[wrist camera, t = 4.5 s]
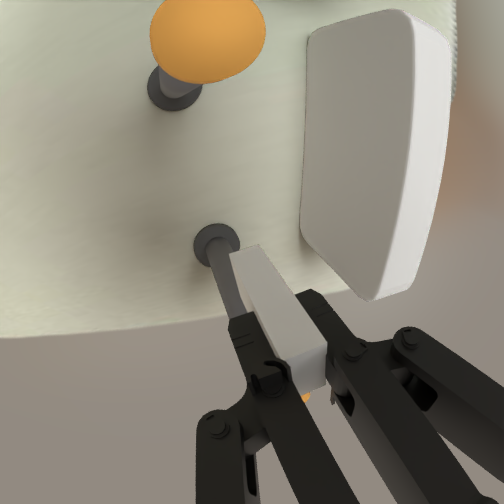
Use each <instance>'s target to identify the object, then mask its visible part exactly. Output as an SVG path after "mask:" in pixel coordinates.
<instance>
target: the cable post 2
mask: <svg viewBox="0 0 504 504" xmlns="http://www.w3.org/2000/svg"><path fill="white" fill-rule="evenodd" d="M239 249H240V241H239V238H238V236H237V234H236V233H235V231H234V230H233V229H232V228H231V227H229V226H227V225H224V224H211V225H209V226H206V227H205V228H203V229H202V230H201V231H200V232H199V233H198V234H197V236H196V238H195V240H194V251H195V255H196V257H197V259H198V260H199V261H200V262H201V263H202V264H203V265H205V266H208V267H211V268H212V271H213V274H214V277H215V280H216V283H217V286H218V289H219V291H220V294H221V297H222V300H223V303H224V306H225V308H226V311H227V314H228V317H229V319H231V318H234V317H237V316H240V315H243V314H245V313H248V312H247V310H246V308H245V306H244V303H243V301H242V299H241V297H240V293H239V289H238V286H237V282H236V279H235V275H234V271H233V268H232V264H231V260H230V257H229V254H230V253H233V252H236V251H239ZM309 397H310V392H309V393H306V394H304V395H302V396H301V398H302V400H303V401H304V403H305V402H306V401H307V400H308V399H309Z"/></svg>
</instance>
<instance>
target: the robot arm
mask: <svg viewBox="0 0 504 504" xmlns="http://www.w3.org/2000/svg"><path fill="white" fill-rule="evenodd" d="M229 257H230V260H231V264H232V268H233V271H234V275H235V279H236V282H237V286H238V289H239V293H240V297H241V299H242V301H243V303H244V306H245V308H246V310H247V312H248V313H245V314H243V315H240V316H237V317H234V318H231V319H230V320H229V326H228V331H229V334H230V337H231V340H232V342H233V345H234V348H235V351H236V353H237V356H238V359H239V361H240V364H241V367H242V370H243V372H244V375H245V377H246V381H247V389H246V392H245V394H244V396H243V397H242V399H240V400H239V401H238V402H237V403H236V404H234V405H233V406H231V407H230V408H229V409H227V410H213V411H210V412H208V413H207V414H205V415H203V417H202V418H201V419H200V420H199V422H198V425H197V430H196V431H197V432H196V504H260V495H259V484H258V473H257V462H256V452H257V451H259V450H260V449H261V448H263V447H264V446H265V445H267V444H268V443H269V442H272V444H273V447H274V449H275V452H276V454H277V456H278V458H279V461H280V463H281V465H282V467H283V470H284V472H285V474H286V476H287V478H288V481H289V483H290V485H291V487H292V489H293V492H294V494H295V496H296V498H297V500H298V502H299V504H360V503H359V502H358V500H357V498H356V496H355V495H354V493H353V491H352V489H351V488H350V486H349V484H348V482H347V480H346V479H345V477H344V475H343V473H342V471H341V470H340V468H339V466H338V464H337V463H336V461H335V459H334V457H333V455H332V453H331V452H330V450H329V448H328V446H327V444H326V442H325V441H324V439H323V437H322V435H321V433H320V431H319V430H318V428H317V426H316V424H315V422H314V420H313V419H312V416H311V415H310V413H309V411H308V409H307V407H306V405H305V403H304V401H303V400H302V398H301V396H302V395H304V394H306V393H309V392H311V391H313V390H315V389H318V388H320V387H322V386H324V385H325V384H326V379H327V381H328V382H329V384H330V385H331V387H332V389H331V399H330V400H331V403H332V405H333V404H335V401H336V403H337V404H338V406H339V408H340V409H341V411H342V413H343V415H344V416H345V418H346V420H347V421H348V423H349V424H350V426H351V428H352V429H353V431H354V433H355V434H356V436H357V438H358V439H359V441H360V443H361V444H362V446H363V448H364V449H365V451H366V453H367V454H368V456H369V458H370V459H371V461H372V463H373V464H374V466H375V467H376V469H377V471H378V472H379V474H380V476H381V477H382V479H383V481H384V482H385V484H386V486H387V487H388V489H389V490H390V492H391V494H392V495H393V497H394V499H395V500H396V502H397V504H498V503H497V501H495V500H494V499H492V498H489V497H486V496H483V495H482V494H480V493H479V491H478V490H477V488H476V487H475V485H474V484H473V482H472V481H471V480H470V478H469V477H468V475H467V474H466V472H465V471H464V469H463V468H462V466H461V465H460V463H459V462H458V461H457V459H456V458H455V456H454V455H453V454H452V452H451V451H450V449H449V448H448V447H447V445H446V444H445V443H444V441H443V440H442V438H441V437H440V435H439V434H441V435H442V436H443V437H444V438H446V439H447V440H448V441H449V442H451V443H452V444H453V445H454V446H456V447H457V448H458V449H460V450H461V451H462V452H463V453H465V454H466V455H467V456H469V457H470V458H471V459H472V460H474V461H475V462H476V463H477V464H479V465H480V466H482V467H483V468H484V469H485V470H487V471H488V472H489V473H491V474H492V475H493V476H494V477H496V478H497V479H498V480H500V481H501V482H503V483H504V387H502V386H501V385H499V384H498V383H497V382H495V381H494V380H492V379H491V378H490V377H488V376H487V375H486V374H484V373H483V372H481V371H480V370H478V369H477V368H476V367H474V366H473V365H471V364H470V363H468V362H467V361H466V360H464V359H463V358H461V357H460V356H459V355H457V354H456V353H454V352H453V351H451V350H450V349H448V348H447V347H445V346H444V345H443V344H441V343H439V342H438V341H437V340H435V339H434V338H432V337H431V336H429V335H428V334H426V333H425V332H423V331H422V330H420V329H418V328H415V327H404V328H401V329H400V330H398V331H397V332H396V334H395V335H394V337H393V339H389V340H384V341H379V342H366V341H365V340H363V339H360V338H357V337H355V336H354V335H353V334H352V332H351V331H350V330H349V329H348V327H347V326H346V325H345V324H344V322H343V321H342V320H341V318H340V317H339V316H338V315H337V313H336V312H335V311H333V308H332V307H331V306H330V305H329V304H328V302H327V301H326V300H325V299H324V297H323V296H322V295H321V294H320V293H318V292H316V291H314V290H312V289H309V290H306V291H303V292H301V293H298V294H295V295H294V294H293V292H292V291H291V289H290V288H289V287H288V285H287V284H286V282H285V281H284V279H283V278H282V277H281V275H280V274H279V272H278V271H277V269H276V268H275V266H274V265H273V264H272V262H271V261H270V259H269V258H268V257H267V255H266V254H265V252H264V251H263V249H262V248H261V247H260V245H259V244H257V245H254V246H251V247H248V248H245V249H242V250H239V251H236V252H233V253H230V254H229ZM437 432H438V433H439V434H438V433H437Z"/></svg>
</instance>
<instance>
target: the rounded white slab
mask: <svg viewBox="0 0 504 504" xmlns="http://www.w3.org/2000/svg"><path fill="white" fill-rule="evenodd" d="M450 100H451V50H450V46H449V43H448V40H447V38H446V37H445V36H444V35H443V34H442V33H441V32H440V31H439V30H438V29H436V28H434V27H433V26H431V25H429V24H428V23H426V22H424V21H422V20H421V19H419V18H417V17H415V16H413V15H411V14H409V13H407V12H405V11H403V10H398V9H387V10H383V11H378V12H374V13H370V14H365V15H362V16H358V17H354V18H350V19H347V20H343V21H340V22H337V23H334V24H330V25H327V26H324V27H321V28H319V29H317V30H315V31H314V32H313V33H312V34H311V36H310V38H309V40H308V46H307V82H306V117H305V141H304V160H303V177H302V192H301V206H300V229H301V233H302V236H303V238H304V239H305V241H306V242H307V243H308V244H309V245H310V246H311V247H312V248H313V249H314V250H315V251H316V253H317V254H318V255H319V256H320V257H321V258H322V259H323V260H324V261H325V262H326V263H327V264H328V265H329V266H330V267H331V268H332V269H333V270H334V271H335V272H336V273H337V274H338V275H339V276H340V277H341V278H342V280H343V281H344V282H345V283H346V284H347V285H348V286H349V287H350V288H351V289H352V290H353V291H354V292H355V293H356V294H357V296H358V297H360V298H361V299H363V300H365V301H366V302H369V301H373V300H376V299H380V298H383V297H386V296H389V295H392V294H395V293H398V292H401V291H404V290H407V289H408V288H409V287H410V286H411V284H412V282H413V281H414V279H415V276H416V273H417V270H418V267H419V263H420V260H421V257H422V254H423V250H424V247H425V244H426V241H427V237H428V233H429V230H430V226H431V222H432V218H433V214H434V210H435V205H436V201H437V196H438V191H439V186H440V181H441V176H442V171H443V164H444V158H445V151H446V144H447V135H448V125H449V114H450Z"/></svg>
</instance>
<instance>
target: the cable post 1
mask: <svg viewBox="0 0 504 504" xmlns="http://www.w3.org/2000/svg"><path fill="white" fill-rule="evenodd" d="M265 35H266V28H265V22H264V19H263V16H262V14H261V12H260V10H259V8H258V7H257V5H256V4H255V3H254V2H253V1H252V0H165V1H164V2H163V3H162V4H161V5H160V7H159V8H158V9H157V11H156V13H155V15H154V16H153V19H152V22H151V26H150V42H151V49H152V52H153V56H154V58H155V60H156V61H157V63H158V67H156V68H155V69H154V71H153V72H152V73H151V75H150V77H149V80H148V85H147V88H148V94H149V97H150V99H151V100H152V101H153V103H154V104H156V105H157V106H158V107H160V108H162V109H165V110H170V111H176V110H181V109H184V108H186V107H188V106H190V105H191V104H192V103H194V102H195V101H196V99H197V98H198V97H199V95H200V93H201V90H202V85H203V84H208V83H214V82H218V81H221V80H223V79H226V78H228V77H231V76H233V75H236V74H237V73H239V72H241V71H243V70H244V69H246V68H247V67H248V66H249V65H250V64H252V63H253V61H254V60H255V59H256V58H257V56H258V55H259V53H260V52H261V49H262V47H263V44H264V41H265Z"/></svg>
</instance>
